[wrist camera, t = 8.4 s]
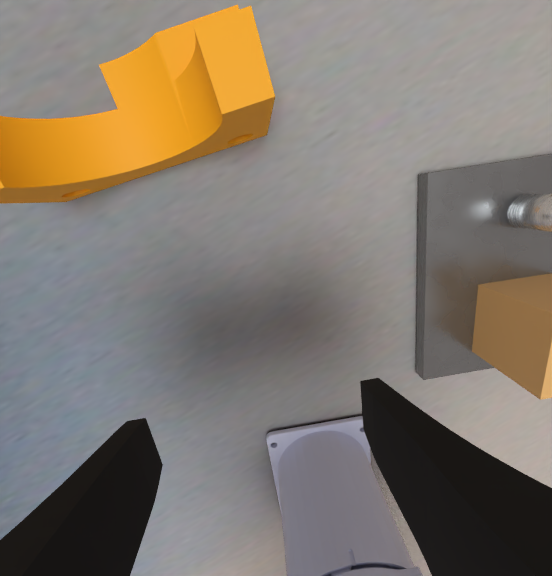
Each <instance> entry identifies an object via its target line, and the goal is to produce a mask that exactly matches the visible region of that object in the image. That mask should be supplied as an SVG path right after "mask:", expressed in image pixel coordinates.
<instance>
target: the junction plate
mask: <svg viewBox="0 0 552 576" xmlns="http://www.w3.org/2000/svg"><path fill="white" fill-rule="evenodd" d="M550 273H552V154H548V155H542V156H535V157H529V158H522V159H516V160H509V161H503V162H496V163H490V164H483V165H477V166H470V167H464V168H457V169H451V170H444V171H438V172H431V173H425V174H418V234H417V315H416V373H417V374H418V375H419V376H420V377H421V378H422V379H423V380H426V379H431V378H437V377H443V376H449V375H454V374H460V373H466V372H472V371H478V370H483V369H489V368H495V367H493V366H492V365H491V364H489V363H488V362H486V361H485V360H483V359H482V358H481V357H479V356H478V355H476V354H475V353H473V352H472V345H473V334H474V324H475V314H476V304H477V293H478V284H485V283H491V282H498V281H504V280H511V279H517V278H524V277H530V276H537V275H544V274H550Z"/></svg>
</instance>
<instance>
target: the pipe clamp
mask: <svg viewBox="0 0 552 576" xmlns="http://www.w3.org/2000/svg"><path fill="white" fill-rule="evenodd" d="M99 66H100V68H101V71H102V73H103V75H104V78H105V80H106V82H107V85H108V87H109V89H110V92H111V94H112V96H113V99H114V101H115V103H116V106H117V108H118V109H115V110H111V111H107V112H103V113H98V114H93V115H87V116H79V117H71V118H56V119H26V118H12V117H3V116H0V203H41V202H67V201H70V200H73V199H76V198H79V197H82V196H85V195H88V194H91V193H94V192H97V191H100V190H103V189H106V188H109V187H112V186H115V185H118V184H121V183H124V182H127V181H130V180H133V179H136V178H139V177H142V176H145V175H148V174H151V173H154V172H157V171H160V170H163V169H166V168H169V167H172V166H175V165H178V164H181V163H184V162H187V161H190V160H193V159H196V158H199V157H202V156H205V155H208V154H211V153H214V152H217V151H220V150H223V149H226V148H229V147H232V146H235V145H238V144H241V143H244V142H247V141H250V140H253V139H256V138H259V137H262V136H265V135H267V132H268V128H269V123H270V118H271V114H272V109H273V104H274V100H275V94H274V90H273V87H272V83H271V79H270V75H269V72H268V68H267V64H266V60H265V57H264V53H263V49H262V45H261V42H260V38H259V34H258V30H257V27H256V23H255V19H254V15H253V12H252V8H251V6H249V7H246V8H243V9H240V10H239V8H238V5H235V6H232V7H230V8H227V9H224V10H221V11H218V12H215V13H212V14H209V15H206V16H203V17H200V18H198V19H195V20H192V21H189V22H186V23H183V24H180V25H177V26H174V27H171V28H169V29H166V30H163V31H160V32H157V33H155V34H154V35H153V36H152V37H151V38H150V39H149V40H148V41H147V42H145V43H144V44H143V45H141V46H140V47H138V48H137V49H135V50H133V51H132V52H130V53H128V54H126V55H124V56H122V57H120V58H117V59H115V60H112V61H109V62H106V63H103V64H100V65H99Z"/></svg>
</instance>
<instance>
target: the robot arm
mask: <svg viewBox="0 0 552 576" xmlns="http://www.w3.org/2000/svg"><path fill="white" fill-rule="evenodd" d="M360 382H361V398H362V415H363V416H358V417H353V418H347V419H341V420H335V421H330V422H324V423H318V424H313V425H307V426H301V427H296V428H290V429H284V430H278V431H273V432H269V433H268V434H267V436H266V441H267V446H268V451H269V456H270V461H271V466H272V471H273V476H274V481H275V486H276V491H277V496H278V501H279V506H280V511H281V516H282V525H283V536H284V548H285V559H286V571H287V576H423V575H422V573H421V571H420V568H419V567H415V566H414V564H413V562H412V559H411V557H410V555H409V552H408V550H407V548H406V545H405V543H404V541H403V539H402V536H401V534H400V532H399V529H398V527H397V525H396V523H395V520H394V518H393V516H392V513H391V511H390V509H389V506H388V504H387V502H386V500H385V497H384V495H383V493H382V490H381V488H380V486H379V483H378V481H377V479H376V477H375V474H374V472H373V470H372V467H371V456H370V448H371V451H372V453H373V456H374V458H375V461H376V463H377V465H378V467H379V469H380V471H381V473H382V475H383V477H384V479H385V481H386V483H387V485H388V486H389V488H390V490H391V492H392V494H393V496H394V498H395V500H396V502H397V504H398V506H399V508H400V510H401V512H402V514H403V516H404V518H405V520H406V522H407V524H408V526H409V527H410V529H411V531H412V533H413V535H414V537H415V539H416V541H417V543H418V545H419V548H420V550H421V552H422V554H423V556H424V558H425V560H426V563H427V565H428V567H429V570H430V572H431V574H432V576H552V488H550V487H548V486H546V485H544V484H542V483H540V482H539V481H537V480H535V479H533V478H531V477H529V476H527V475H525V474H523V473H522V472H520V471H518V470H516V469H514V468H513V467H511V466H509V465H507V464H505V463H504V462H502V461H500V460H498V459H497V458H495V457H493V456H491V455H490V454H488V453H486V452H484V451H483V450H481V449H479V448H478V447H476V446H475V445H473V444H471V443H470V442H468V441H467V440H465V439H463V438H462V437H460V436H459V435H457V434H456V433H454V432H452V431H451V430H449V429H448V428H446V427H445V426H443V425H442V424H440V423H439V422H438V421H436V420H435V419H433V418H432V417H430V416H429V415H428V414H426V413H425V412H423V411H422V410H421V409H419V408H418V407H416V406H415V405H414V404H412V403H411V402H410V401H408V400H407V399H406V398H404V397H403V396H402V395H400V394H399V393H398V392H396V391H395V390H394V389H392V388H391V387H390V386H388V385H387V384H386V383H384V382H383V381H382V380H380V379H379V378H375V379H370V380H364V381H360ZM361 427H363V428H361ZM272 443H275V444H272ZM162 465H163V464H162V462H161V459H160V456H159V453H158V451H157V448H156V445H155V442H154V440H153V437H152V434H151V431H150V429H149V426H148V423H147V420H146V418H143V419H137V420H131V421H127V422H126V423H125V424H124V425H122V426H121V427H120V428H119V429H118V430H117V431H116V432H115V433H114V434H113V435H112V436H111V437H110V438H109V439H108V440H107V441H106V442H105V443H104V444H103V445H102V446H101V447H100V448H99V449H98V450H96V451H95V452H94V453H93V454H92V455H91V456H90V457H89V458H88V459H87V460H86V461H85V462H84V463H83V464H82V465H81V466H80V467H79V468H78V469H77V470H76V471H75V472H74V473H73V474H72V475H71V476H70V477H69V478H68V479H67V480H66V481H65V482H64V483H63V484H62V485H61V486H59V487H58V488H57V489H56V490H55V491H54V492H53V493H52V494H51V495H50V496H49V497H48V498H46V499H45V500H44V501H43V502H42V503H41V504H40V505H39V506H38V507H37V508H36V509H35V510H33V511H32V512H31V513H30V514H29V515H28V516H27V517H26V518H25V519H24V520H23V521H22V522H20V523H19V524H18V525H17V526H16V527H15V528H14V529H12V530H11V531H10V532H9V533H8V534H7V535H6V536H4V537H3V538H2V539H1V540H0V576H130V574H131V571H132V568H133V565H134V562H135V559H136V556H137V553H138V550H139V547H140V544H141V541H142V538H143V535H144V532H145V529H146V526H147V523H148V520H149V517H150V514H151V511H152V508H153V505H154V502H155V498H156V493H157V489H158V485H159V480H160V475H161V470H162Z"/></svg>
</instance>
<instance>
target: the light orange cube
mask: <svg viewBox="0 0 552 576" xmlns="http://www.w3.org/2000/svg"><path fill="white" fill-rule="evenodd" d="M472 352H473V353H475V354H476V355H478V356H479V357H481V358H482V359H483V360H485V361H486V362H488V363H489V364H491V365H492V366H493V367H495V368H496V369H498V370H499V371H500V372H502V373H503V374H505V375H506V376H508V377H509V378H510V379H512V380H513V381H515V382H516V383H518V384H519V385H520V386H522V387H523V388H525V389H526V390H527V391H529V392H530V393H532V394H533V395H535V396H536V397H537V398H539V399H546V398H552V273H550V274H544V275H537V276H530V277H524V278H517V279H511V280H504V281H498V282H491V283H485V284H478V293H477V304H476V314H475V324H474V334H473V345H472Z"/></svg>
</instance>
